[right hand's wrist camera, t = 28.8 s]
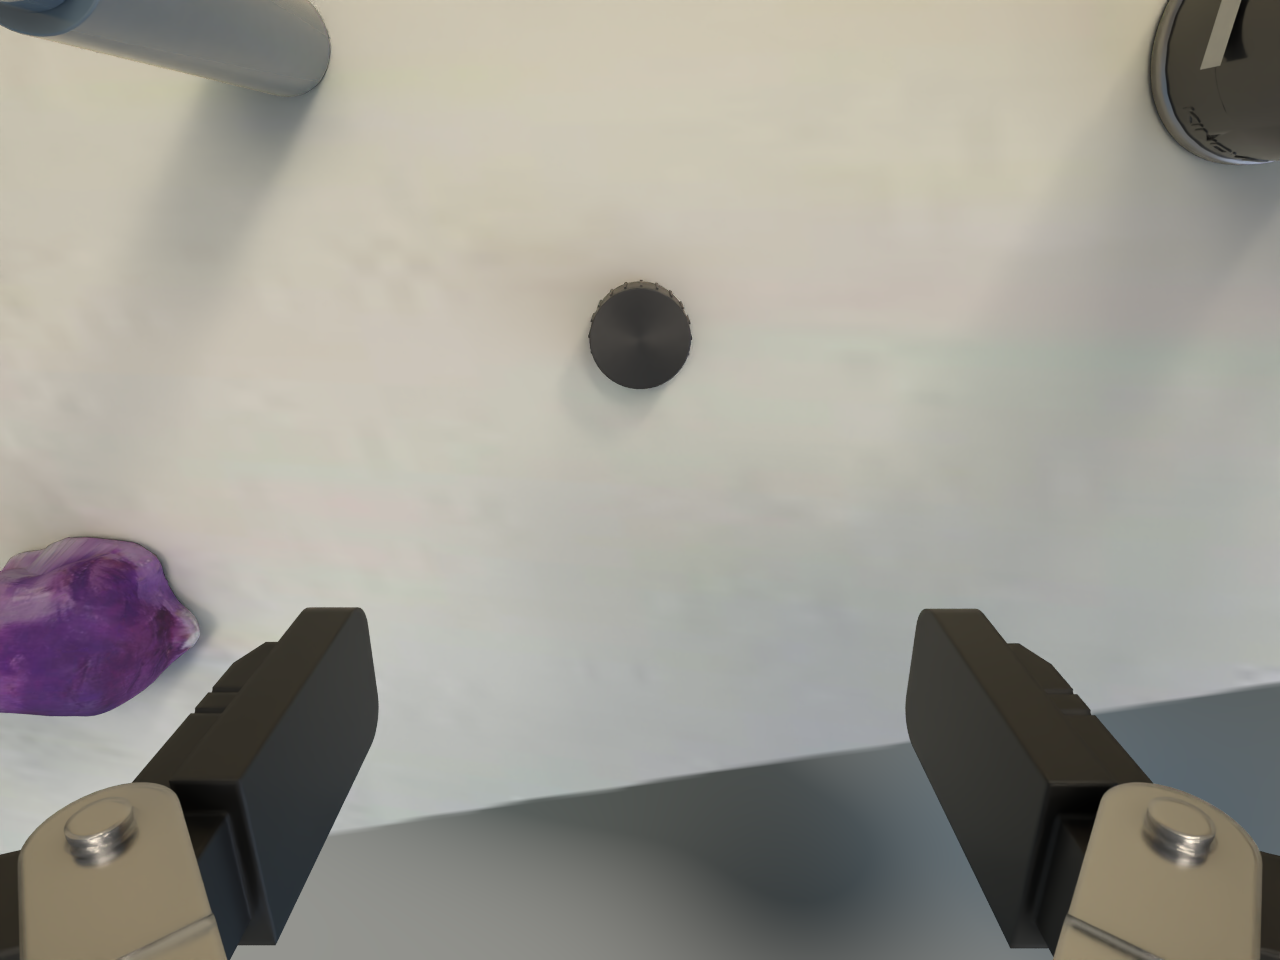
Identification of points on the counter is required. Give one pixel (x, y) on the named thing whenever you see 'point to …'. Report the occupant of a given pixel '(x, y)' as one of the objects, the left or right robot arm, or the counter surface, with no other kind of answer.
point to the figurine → (86, 627)
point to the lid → (640, 335)
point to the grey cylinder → (191, 36)
